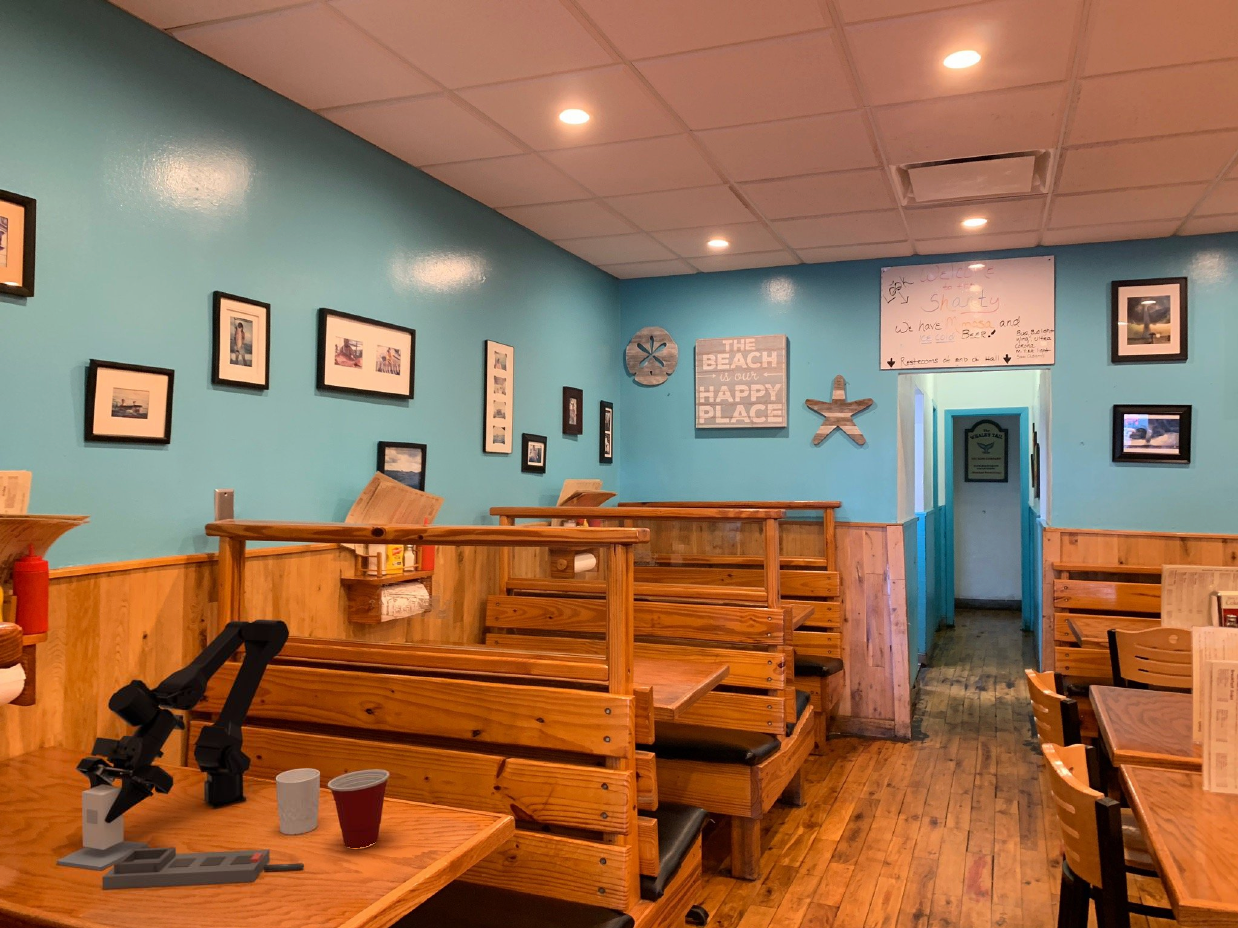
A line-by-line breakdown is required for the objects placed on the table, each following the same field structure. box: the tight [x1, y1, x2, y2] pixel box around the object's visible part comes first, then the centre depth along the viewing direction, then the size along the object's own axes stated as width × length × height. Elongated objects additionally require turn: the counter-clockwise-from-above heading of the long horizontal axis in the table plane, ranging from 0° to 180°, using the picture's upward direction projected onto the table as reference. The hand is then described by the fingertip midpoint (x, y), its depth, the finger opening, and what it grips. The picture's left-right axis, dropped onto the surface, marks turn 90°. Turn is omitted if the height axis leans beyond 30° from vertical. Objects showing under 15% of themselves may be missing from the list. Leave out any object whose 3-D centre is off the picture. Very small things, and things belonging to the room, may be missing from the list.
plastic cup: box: [327, 768, 390, 848], centre depth 162 cm, size 11×11×12 cm
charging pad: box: [55, 840, 149, 871], centre depth 159 cm, size 10×10×1 cm
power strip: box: [101, 846, 305, 890], centre depth 150 cm, size 31×8×4 cm, turn 93°
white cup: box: [275, 767, 321, 836], centre depth 169 cm, size 8×8×10 cm
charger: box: [81, 784, 124, 850], centre depth 159 cm, size 4×5×10 cm
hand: (95, 820), depth 157 cm, fingers closed on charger, 5 cm apart
